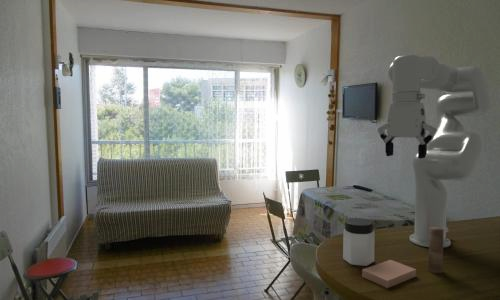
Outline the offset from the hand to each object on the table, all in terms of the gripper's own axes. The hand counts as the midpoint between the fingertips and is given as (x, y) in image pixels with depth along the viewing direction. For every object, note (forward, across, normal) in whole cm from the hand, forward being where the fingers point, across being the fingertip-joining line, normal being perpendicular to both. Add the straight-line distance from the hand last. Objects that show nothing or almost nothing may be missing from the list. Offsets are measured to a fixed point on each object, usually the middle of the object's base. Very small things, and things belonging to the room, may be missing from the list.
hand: (405, 156), depth 107 cm
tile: (+30, -4, +10) cm, 32 cm away
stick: (+31, -10, +3) cm, 33 cm away
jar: (+31, +8, +12) cm, 34 cm away
